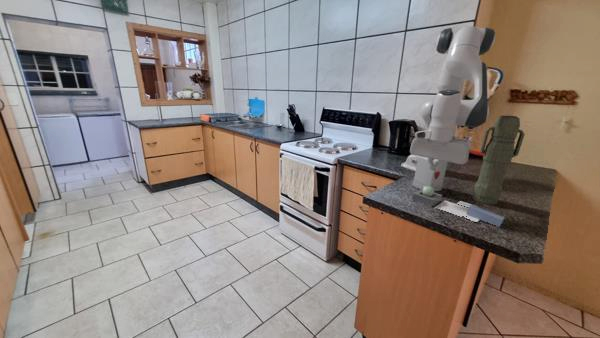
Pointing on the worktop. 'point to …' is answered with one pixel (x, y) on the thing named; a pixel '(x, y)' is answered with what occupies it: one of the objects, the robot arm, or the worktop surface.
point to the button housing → (427, 198)
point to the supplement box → (429, 174)
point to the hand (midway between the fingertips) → (434, 169)
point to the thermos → (497, 158)
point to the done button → (428, 191)
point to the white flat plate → (455, 210)
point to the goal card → (464, 204)
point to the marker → (485, 215)
